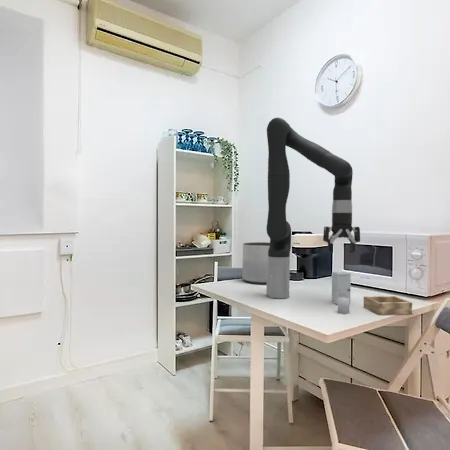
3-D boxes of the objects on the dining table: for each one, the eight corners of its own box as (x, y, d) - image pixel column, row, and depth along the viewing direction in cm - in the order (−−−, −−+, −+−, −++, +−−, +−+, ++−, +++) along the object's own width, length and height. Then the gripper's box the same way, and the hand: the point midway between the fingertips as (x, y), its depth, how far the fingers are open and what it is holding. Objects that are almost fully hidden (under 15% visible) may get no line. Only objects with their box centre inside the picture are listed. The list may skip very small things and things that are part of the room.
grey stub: (340, 314, 118) (340, 299, 118) (335, 310, 122) (335, 297, 122) (351, 313, 119) (351, 299, 118) (346, 310, 123) (346, 297, 122)
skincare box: (337, 304, 131) (337, 273, 131) (330, 302, 135) (331, 272, 135) (351, 304, 132) (351, 273, 132) (344, 301, 137) (344, 271, 136)
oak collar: (378, 314, 117) (378, 303, 117) (363, 307, 128) (363, 296, 127) (412, 314, 118) (412, 302, 118) (394, 306, 129) (394, 296, 129)
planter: (233, 280, 181) (233, 243, 181) (261, 276, 196) (261, 241, 196) (265, 287, 165) (266, 246, 164) (293, 281, 180) (293, 244, 180)
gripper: (328, 211, 129) (328, 253, 129) (363, 212, 130) (363, 253, 130) (321, 212, 136) (320, 251, 137) (354, 212, 138) (354, 251, 138)
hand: (341, 252), depth 134 cm, fingers open, 8 cm apart
